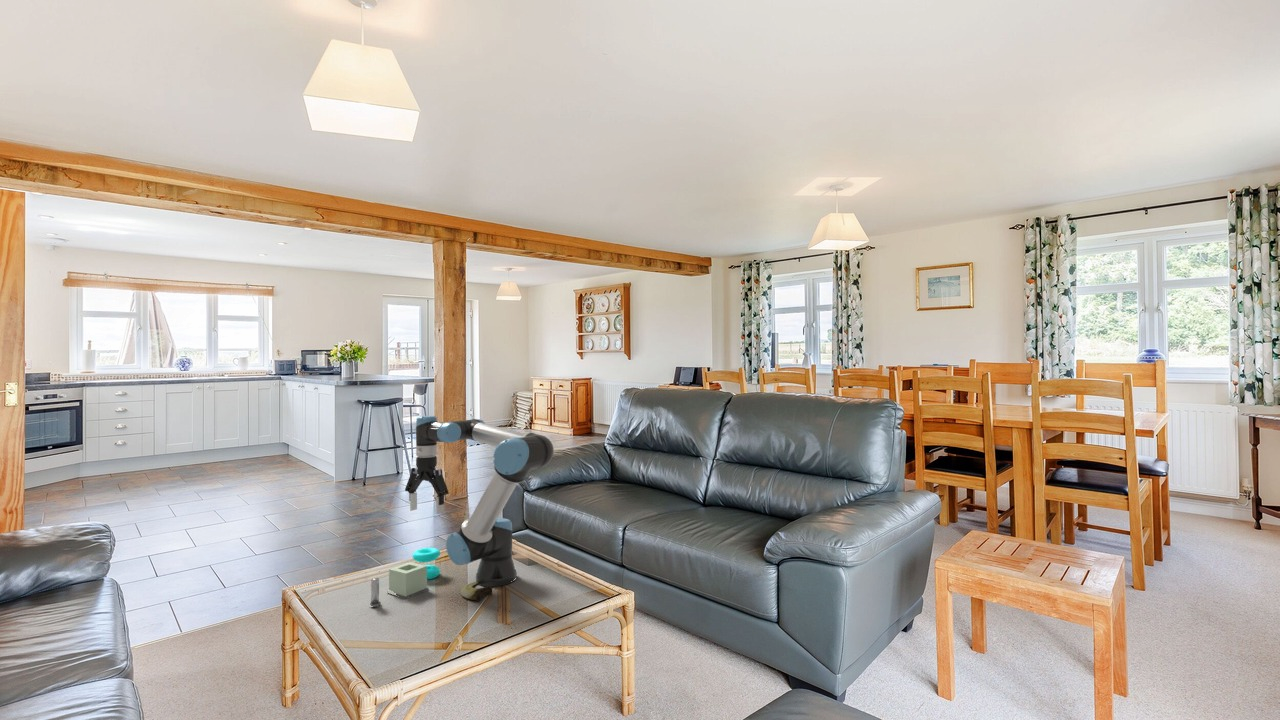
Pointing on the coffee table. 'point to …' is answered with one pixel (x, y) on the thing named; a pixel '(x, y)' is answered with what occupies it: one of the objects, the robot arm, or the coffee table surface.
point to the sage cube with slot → (408, 578)
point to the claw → (475, 592)
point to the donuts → (428, 560)
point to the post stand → (375, 592)
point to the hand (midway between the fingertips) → (426, 511)
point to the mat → (412, 594)
